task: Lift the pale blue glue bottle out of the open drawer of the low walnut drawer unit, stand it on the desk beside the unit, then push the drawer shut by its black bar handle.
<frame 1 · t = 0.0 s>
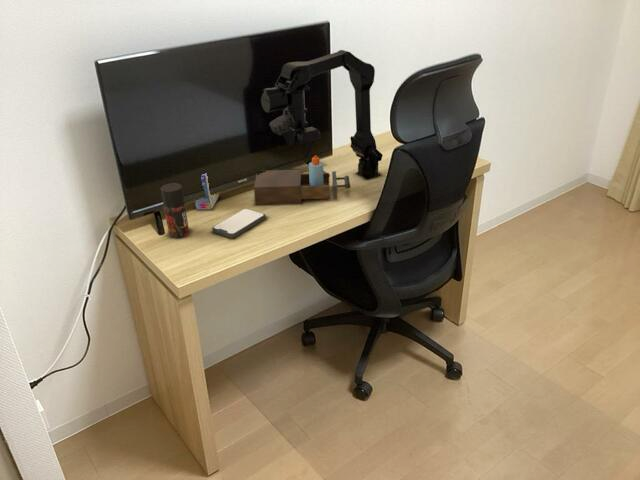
hand: (297, 153, 184), 15 cm above the table, tool pointing down, fingers open, 9 cm apart
drawer: (322, 185, 191), point 3 cm above the table, slide at 10.5 cm, touching glue bottle
ink cartridge box: (207, 203, 189), on the table
cabinet: (279, 195, 192), on the table
phone case: (239, 225, 175), on the table
deodorant: (179, 233, 172), on the table
glue bottle: (316, 189, 191), point 2 cm above the table, touching drawer
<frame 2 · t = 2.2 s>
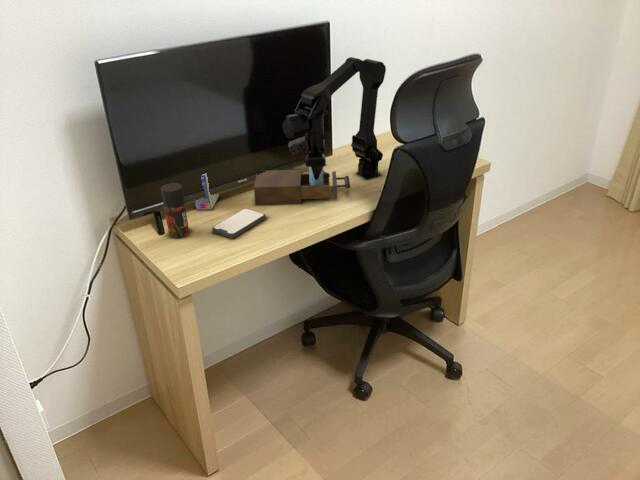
hand: (316, 176, 189), 7 cm above the table, tool pointing down, fingers closed on glue bottle, 4 cm apart
glue bottle: (316, 189, 191), point 2 cm above the table, touching drawer, gripper
everything else where it was.
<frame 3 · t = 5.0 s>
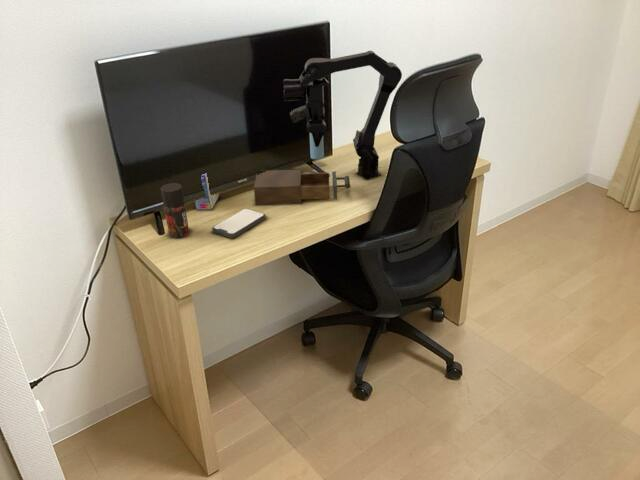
hand: (316, 144, 197), 13 cm above the table, tool pointing down, fingers closed on glue bottle, 4 cm apart
drawer: (322, 185, 191), point 3 cm above the table, slide at 10.5 cm
glue bottle: (317, 156, 200), point 8 cm above the table, touching gripper
everything else where it was.
when the fingers open (5 cm above the table, at t = 7.7 s): glue bottle stays where it is, on the table.
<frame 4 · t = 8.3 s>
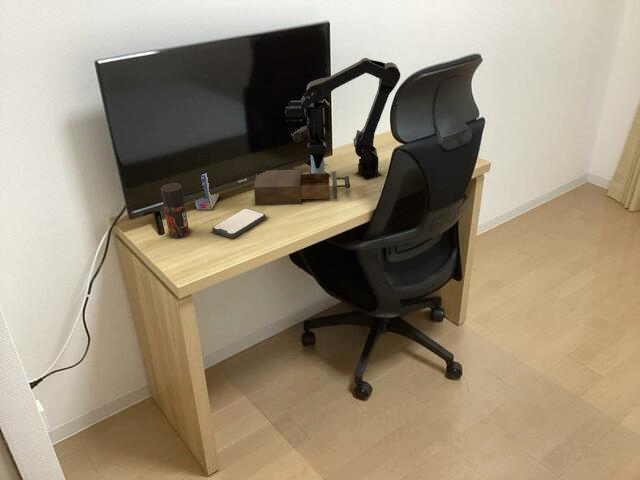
hand: (317, 163, 203), 5 cm above the table, tool pointing down, fingers open, 9 cm apart
glue bottle: (317, 176, 205), on the table
everything else where it was.
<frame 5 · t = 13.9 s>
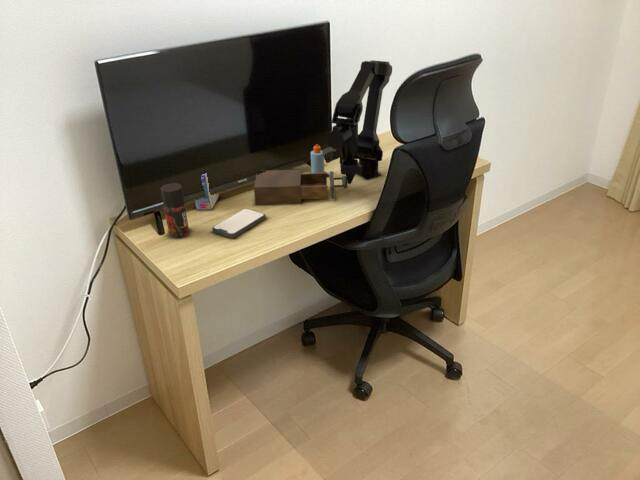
hand: (349, 183, 190), 4 cm above the table, tool pointing down, fingers closed, pressing on drawer
drawer: (319, 185, 191), point 3 cm above the table, slide at 9.7 cm, touching gripper
everything else where it was.
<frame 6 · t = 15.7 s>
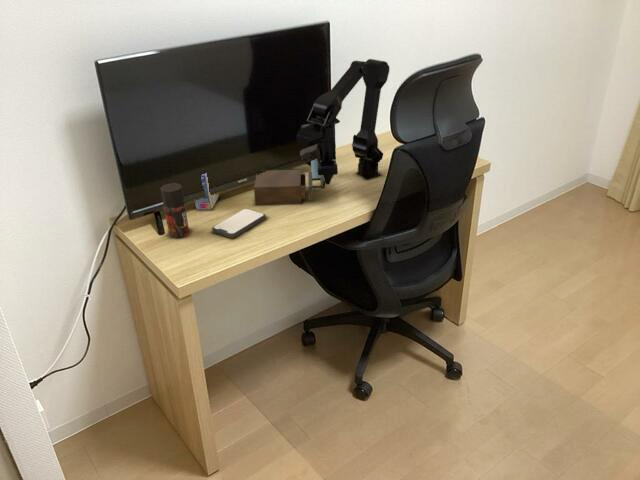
hand: (327, 184, 190), 4 cm above the table, tool pointing down, fingers closed, pressing on drawer
drawer: (297, 186, 191), point 3 cm above the table, slide at 2.5 cm, touching gripper
everything else where it was.
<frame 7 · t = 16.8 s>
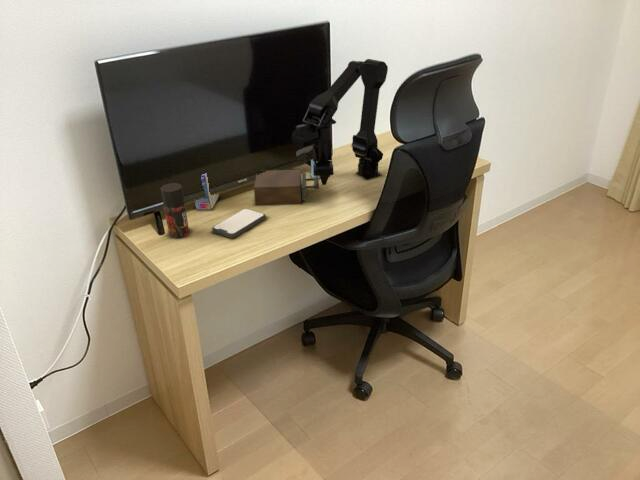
hand: (323, 184, 190), 3 cm above the table, tool pointing down, fingers closed
drawer: (291, 186, 191), point 3 cm above the table, slide at 0.4 cm
everything else where it was.
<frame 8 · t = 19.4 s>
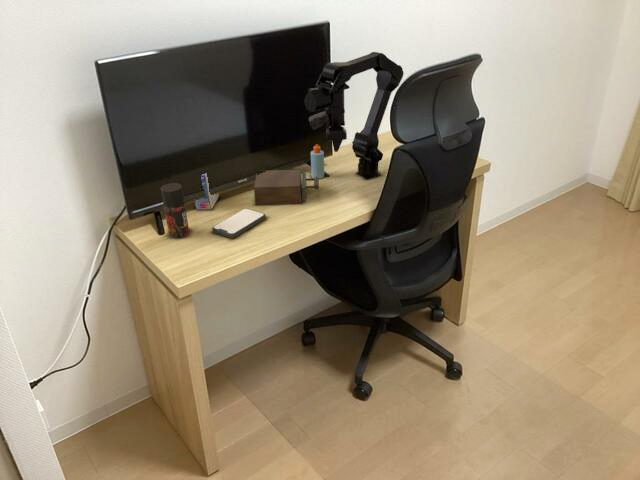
hand: (336, 151, 190), 13 cm above the table, tool pointing down, fingers closed
nothing on the table moved.
at the end: glue bottle 0.1 cm from the target spot, on the table; glue bottle tilted 0°; drawer slide at 0.4 cm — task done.
